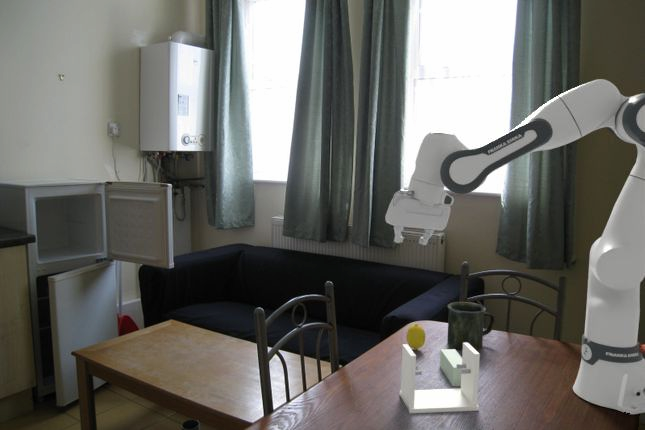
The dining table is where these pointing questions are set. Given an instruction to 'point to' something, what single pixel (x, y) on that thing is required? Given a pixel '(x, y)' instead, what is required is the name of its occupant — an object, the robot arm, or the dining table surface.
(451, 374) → the shelf board
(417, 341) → the lemon
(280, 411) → the dining table surface
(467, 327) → the mug
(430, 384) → the dining table surface
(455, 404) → the shelf unit
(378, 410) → the dining table surface
